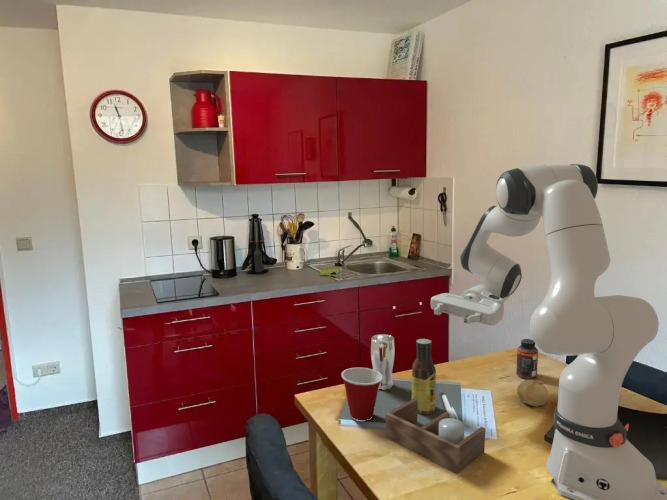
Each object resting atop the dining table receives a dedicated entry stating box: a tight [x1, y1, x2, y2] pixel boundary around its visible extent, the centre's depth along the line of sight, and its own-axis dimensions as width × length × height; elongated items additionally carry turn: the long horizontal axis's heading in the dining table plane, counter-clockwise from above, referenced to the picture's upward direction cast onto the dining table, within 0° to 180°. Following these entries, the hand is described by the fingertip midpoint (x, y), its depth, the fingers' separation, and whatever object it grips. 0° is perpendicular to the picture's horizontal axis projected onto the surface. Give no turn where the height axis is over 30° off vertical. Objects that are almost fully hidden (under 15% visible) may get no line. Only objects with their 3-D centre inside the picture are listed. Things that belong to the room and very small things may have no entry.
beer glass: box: [370, 333, 395, 391], centre depth 148 cm, size 7×7×15 cm
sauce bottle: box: [411, 338, 437, 416], centre depth 132 cm, size 6×6×20 cm
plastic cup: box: [341, 367, 383, 420], centre depth 131 cm, size 11×11×12 cm
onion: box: [516, 377, 549, 407], centre depth 137 cm, size 8×8×7 cm
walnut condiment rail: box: [385, 398, 486, 475], centre depth 116 cm, size 20×11×7 cm, turn 43°
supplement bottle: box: [515, 338, 539, 380], centre depth 153 cm, size 6×6×11 cm
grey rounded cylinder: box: [439, 417, 465, 444], centre depth 113 cm, size 6×6×7 cm
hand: (450, 316), depth 137 cm, fingers open, 8 cm apart
